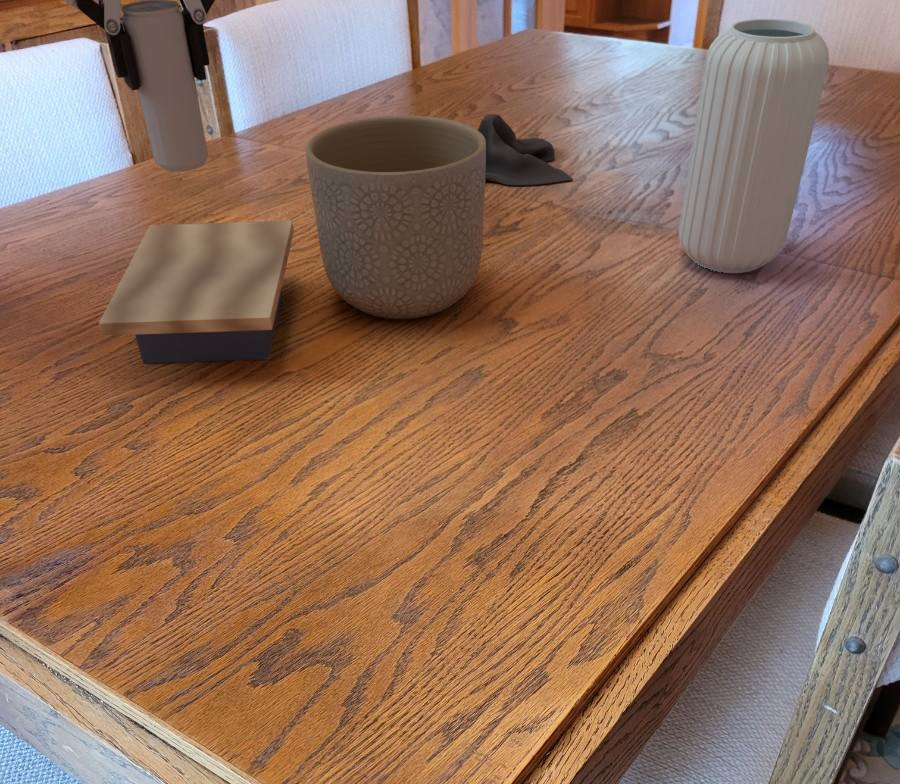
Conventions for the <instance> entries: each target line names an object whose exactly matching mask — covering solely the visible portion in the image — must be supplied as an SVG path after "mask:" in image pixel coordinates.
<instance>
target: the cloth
mask: <svg viewBox="0 0 900 784" xmlns="http://www.w3.org/2000/svg"><path fill="white" fill-rule="evenodd" d="M477 130H478V131H479V132H480V133H481V134H482V135H483V136H484V138H485V140H486V176H485V182H487V181H490V182H494V183H499V184H502V185H505V186H511V187H532V186H533V187H534V186H543V185H549V184H559V183H566V182H572V181H573V177H571V176H570V175H569V174H568V173H566V171H564V170H563V169H559V168H556V167H554V166H553V165H551V164H549V163H548V162H552V161H554V160H555V158H556V157H555V148H554V146H553V144H552V143H551V142H550V141H548V140H546V139H544V138H539V137H530V138H517V135H516V133H515V131H514V130H513V128H512V127H511V126H510V125H509V124H508V123H507V122H506V121H505V120H504V119H503V118H502V117H501V115H499V114H495V113H493V114H492V113H491V114H490V113H489V114H487V115H484V116H483V118H482V119H481V121H480V123H479V125H478V128H477Z"/></svg>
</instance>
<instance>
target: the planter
mask: <svg viewBox="0 0 900 784" xmlns="http://www.w3.org/2000/svg"><path fill="white" fill-rule="evenodd" d="M305 157H306V165H307V173H308V180H309V187H310V192H311V198H312V205H313V211H314V217H315V224H316V230H317V236H318V242H319V250H320V255H321V259H322V263H323V268H324V272H325V274H326V277H327V279H328V282H329V283H330V286H331V287H332V288H333V289H334V290H335V292H336V293H337V295H338V296H340V297H341V298H342V299H343V300H344V301H345V302H346V303H348V304H349V305H351V306H352V307H353V308H355V309H357V310H359V311H361V312H362V313H365V314H367V315H370V316H372V317H377V318H382V319H388V320H415V319H420V318H425V317H429V316H433V315H435V314H438V313H440V312H443V311H445V310H447V309H448V308H450V307H451V306H453V305H454V304H456V303H457V302H458V301H460V300H461V299H462V298H463V297H464V296H465V295H466V293H468V291H469V290H470V288H471V287H472V286H473V284H474V282H475V281H476V279H477V277H478V274H479V270H480V267H481V262H482V254H483V245H484V217H485V216H484V215H485V199H486V198H485V197H486V181H485V176H486V140H485V138H484V136H483V135H482V134H481V133H480V132H479V131H478V129H477V128H475V127H473V126H471V125H468V124H466V123H463V122H461V121H457V120H453V119H449V118H444V117H436V116H428V115H427V116H426V115H385V116H384V115H383V116H373V117H365V118H360V119H354V120H350V121H346V122H342V123H339V124H335V125H332V126H330V127H327V128H325V129H323V130H321V131H319V132H318V133H316V134H314V135H313V136H312V137H310V139H309V140H308V141H307V143H306V145H305Z"/></svg>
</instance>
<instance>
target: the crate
mask: <svg viewBox="0 0 900 784" xmlns="http://www.w3.org/2000/svg"><path fill="white" fill-rule="evenodd" d="M283 296H284V291H283V287H282V288H281V292H280V297H279V301H278V306H277V310H276V315H275V319H274V324H273V328H272V330H252V331H223V332H194V333H166V334H137V335H134V336H135V339H136V343H137V347H138V351H139V353H140V357H141V361H142V364H167V363H168V364H169V363H171V364H172V363H197V362H199V363H200V362H201V363H202V362H225V361H226V362H227V361H229V362H230V361H251V360H252V361H254V360H257V361H258V360H269V359H270V357H271V351H272V348H273V347H272V346H273V342H274V338H275V333H276V328H277V324H278V320H279V315H280V309H281V305H282V301H283Z"/></svg>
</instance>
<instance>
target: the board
mask: <svg viewBox="0 0 900 784" xmlns="http://www.w3.org/2000/svg"><path fill="white" fill-rule="evenodd" d="M293 222H294V221H293V220H272V221H268V220H267V221H243V222H241V221H240V222H239V221H238V222H211V223H210V222H209V223H208V222H207V223H180V224H176V223H175V224H153V225H152V224H151V225H149V226H148V227H147V230H146V232H145V234H144V235H143V238H141V239H142V240H141V241H140V243H139V245H138V247H137V249H136V250H135V253H134V255H133V256H132V258H131V260H130V262H129V264H128V266H127V268H126V269H125V272H124V274H123V276H122V277H121V280H120V281H119V284H118V285H117V287H116V289H115V291H114V293H113V295H112V296H111V299H110V300H109V303H108V304H107V306H106V308H105V310H104V312H103V314H102V316H101V318H100V320H99V322H98V326H99V329H100V332H101V335H102V336H133V335H134V336H135V335H137V334H166V333H194V332H223V331H252V330H272V328H273V324H274V319H275V315H276V310H277V306H278V301H279V297H280V292H281V288H282V289H283V282H284V278H285V273H286V270H287V264H288V260H289V256H290V251H291V247H292V242H293V238H294V233H295V230H294V223H293Z"/></svg>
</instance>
